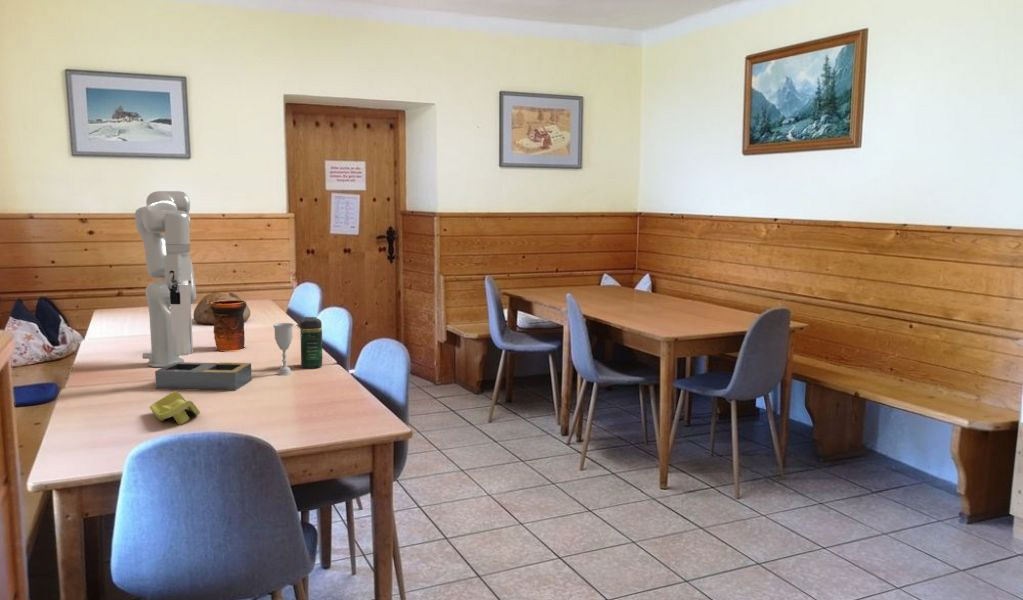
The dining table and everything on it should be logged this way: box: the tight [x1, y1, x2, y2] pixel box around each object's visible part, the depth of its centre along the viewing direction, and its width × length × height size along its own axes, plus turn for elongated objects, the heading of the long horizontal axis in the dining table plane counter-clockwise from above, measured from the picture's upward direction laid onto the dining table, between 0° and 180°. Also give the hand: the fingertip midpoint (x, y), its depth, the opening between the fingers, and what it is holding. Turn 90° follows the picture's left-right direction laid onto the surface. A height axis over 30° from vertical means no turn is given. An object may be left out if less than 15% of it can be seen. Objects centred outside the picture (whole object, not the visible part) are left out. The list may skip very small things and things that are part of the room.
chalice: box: [272, 322, 294, 376], centre depth 283 cm, size 7×7×18 cm
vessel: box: [210, 300, 247, 353], centre depth 327 cm, size 14×14×20 cm
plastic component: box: [149, 391, 201, 425], centre depth 227 cm, size 20×7×10 cm
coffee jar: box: [299, 316, 323, 369], centre depth 295 cm, size 10×8×19 cm
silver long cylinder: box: [169, 281, 194, 356], centre depth 265 cm, size 6×6×25 cm
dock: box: [154, 361, 253, 391], centre depth 267 cm, size 27×14×6 cm, turn 87°
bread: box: [192, 291, 251, 325], centre depth 394 cm, size 26×23×15 cm
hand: (180, 302), depth 264 cm, fingers closed on silver long cylinder, 6 cm apart
